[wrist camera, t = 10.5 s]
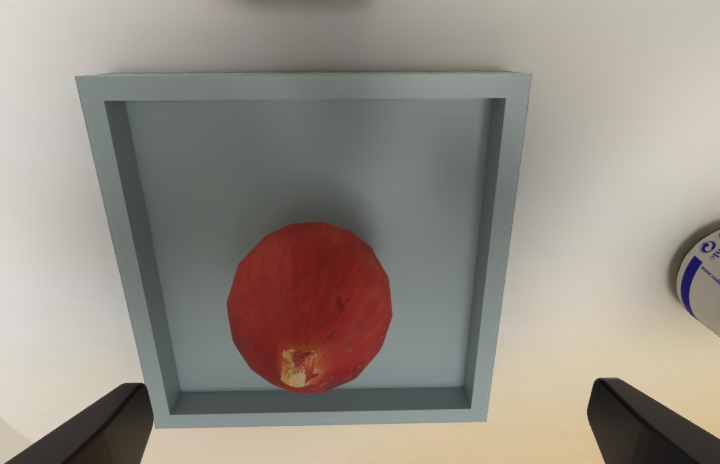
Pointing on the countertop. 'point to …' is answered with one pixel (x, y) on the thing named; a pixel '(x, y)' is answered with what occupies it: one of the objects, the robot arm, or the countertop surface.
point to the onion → (309, 307)
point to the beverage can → (702, 282)
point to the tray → (311, 204)
